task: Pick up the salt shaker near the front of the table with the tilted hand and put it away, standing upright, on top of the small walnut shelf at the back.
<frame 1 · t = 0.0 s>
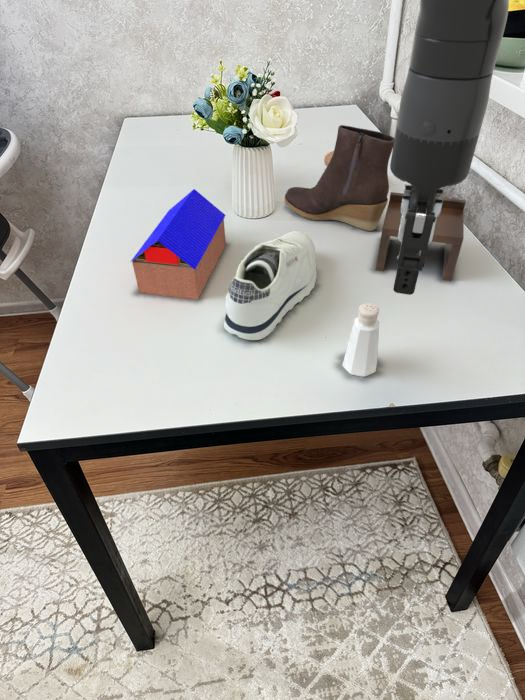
hand: (406, 271, 56), 21 cm above the table, tool pointing down, fingers open, 8 cm apart
running shoe: (277, 296, 89), on the table
house: (185, 268, 96), on the table
shelf: (414, 259, 97), on the table
boot: (332, 217, 111), on the table
trinket box: (344, 189, 121), on the table
salt shaker: (359, 365, 75), on the table
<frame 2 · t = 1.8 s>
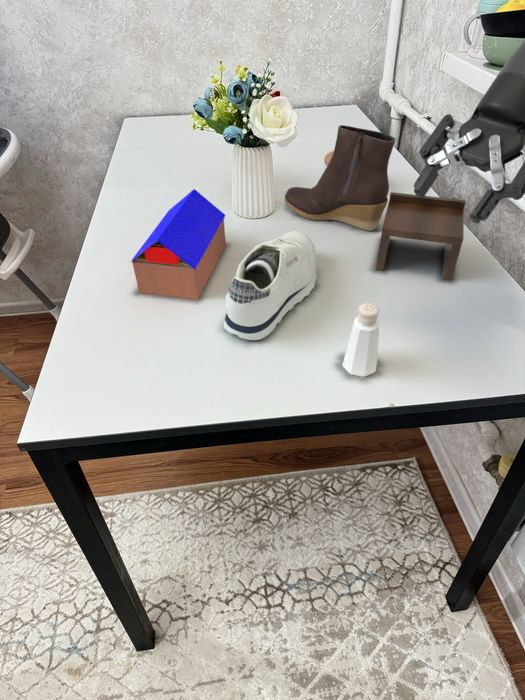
hand: (444, 207, 63), 23 cm above the table, tool tilted 45°, fingers open, 8 cm apart
nothing on the table moved.
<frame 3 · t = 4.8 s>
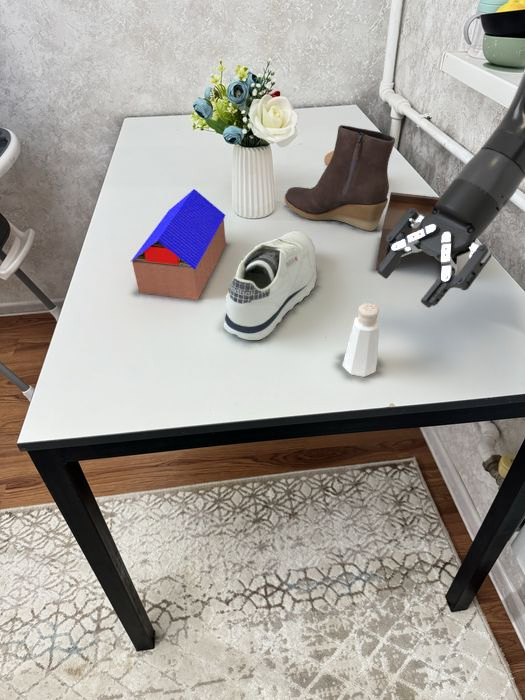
hand: (402, 289, 70), 12 cm above the table, tool tilted 45°, fingers open, 8 cm apart
nothing on the table moved.
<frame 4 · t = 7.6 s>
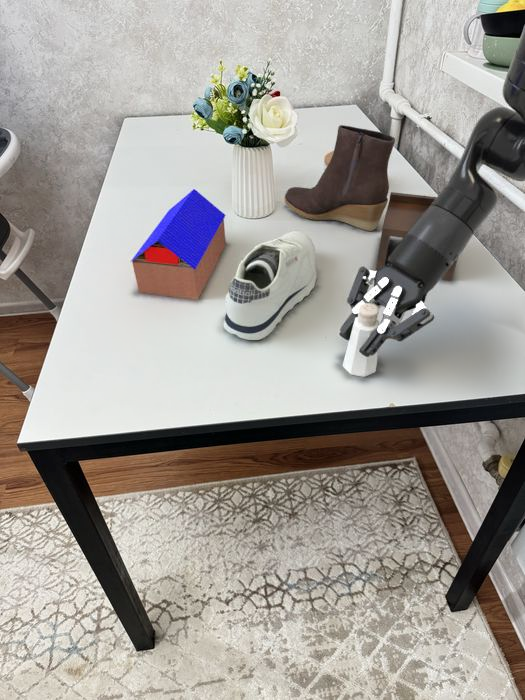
hand: (353, 345, 71), 5 cm above the table, tool tilted 45°, fingers closed on salt shaker, 3 cm apart
salt shaker: (359, 365, 75), on the table, touching gripper
everything else where it was.
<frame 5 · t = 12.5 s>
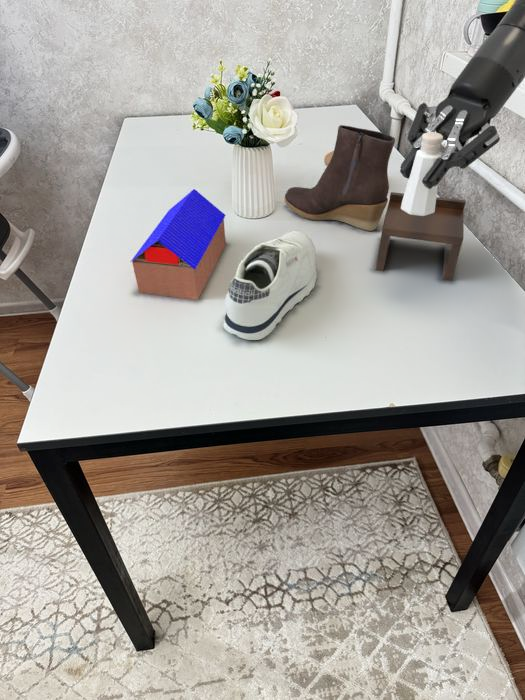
hand: (415, 179, 72), 22 cm above the table, tool tilted 45°, fingers closed on salt shaker, 3 cm apart
salt shaker: (417, 209, 76), point 17 cm above the table, touching gripper
everything else where it was.
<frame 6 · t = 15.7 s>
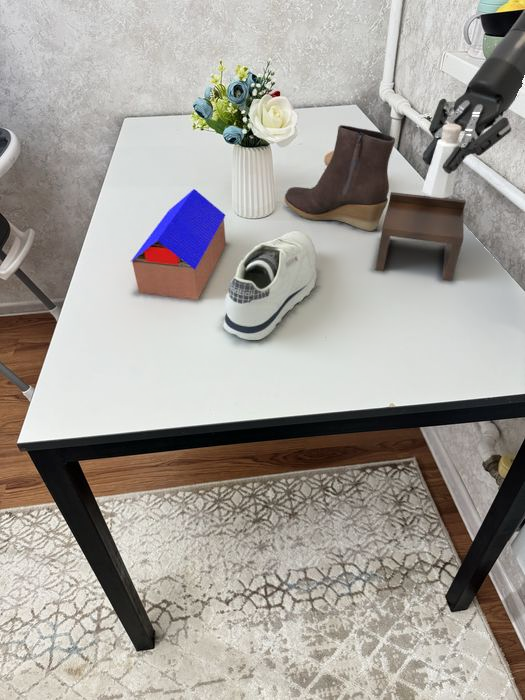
hand: (435, 165, 81), 20 cm above the table, tool tilted 45°, fingers closed on salt shaker, 3 cm apart
salt shaker: (437, 192, 86), point 15 cm above the table, touching gripper
everything else where it was.
when the fingers open (14 cm above the table, at t = 17.7 s): salt shaker stays where it is, resting on shelf.
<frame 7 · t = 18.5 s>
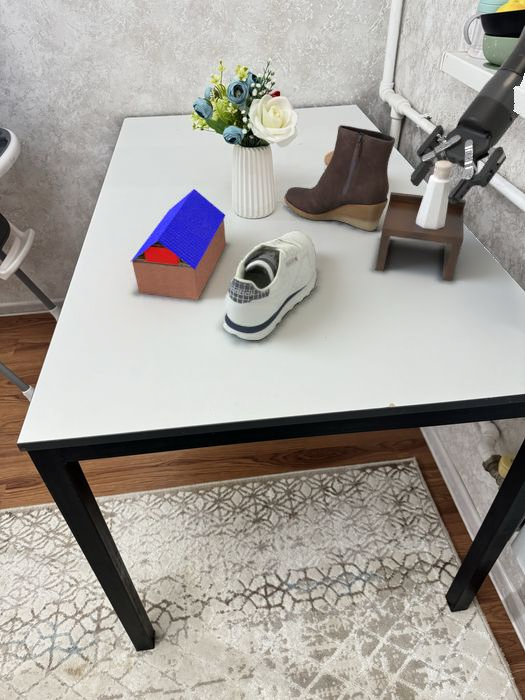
hand: (431, 192, 85), 15 cm above the table, tool tilted 45°, fingers open, 8 cm apart
salt shaker: (429, 223, 90), point 9 cm above the table, touching shelf
everything else where it was.
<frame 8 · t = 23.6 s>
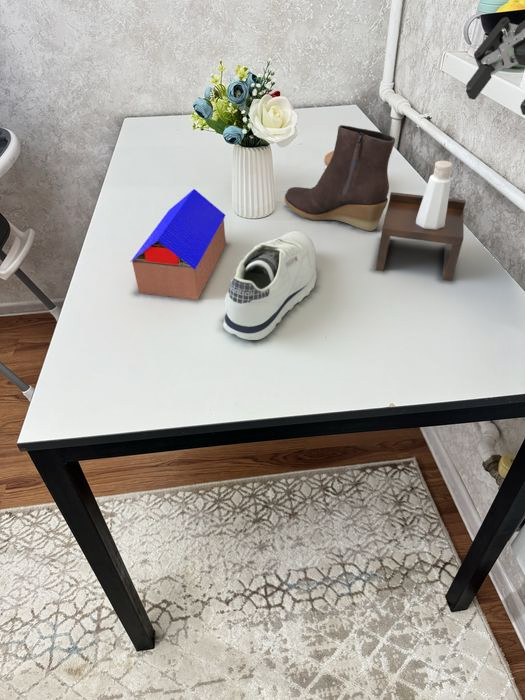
hand: (495, 103, 65), 33 cm above the table, tool tilted 45°, fingers open, 8 cm apart
nothing on the table moved.
at the end: salt shaker inside the target area on the shelf (2.2 cm from its centre), point 8.8 cm above the shelf's base; salt shaker tilted 0°; the gripper is holding nothing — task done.
